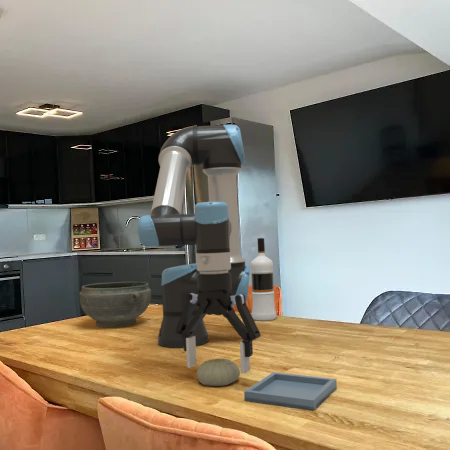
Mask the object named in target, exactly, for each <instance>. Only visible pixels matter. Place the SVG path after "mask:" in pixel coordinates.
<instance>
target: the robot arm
mask: <svg viewBox="0 0 450 450" xmlns="http://www.w3.org/2000/svg"><path fill="white" fill-rule="evenodd" d="M158 164H159V167H160V168H159V171H158V172H159V173H158V177H157V182H156V186H155V191H154V197H153V200H152V201H153V202H152V204H151V211H150V214H147V215H142V216H140V217H139V219H138V223H137V236H138V241H139V243H140V244H141V245H142V246H144V247H156V248H158V247H171V246H174V247H175V246H196V248H195V252H196V254H195V255H196V257H195V258H196V263H188V264H182V265H177V266H172V267H169V268H168V267H167V268H165V269H164V270H163V271H161V272H162V273H161V284H160V286H161V297H162V298H161V299H162V300H161V301H162V322H161V325H160V328H159V333H158V335H157V343H158V345H159V346H161V347H167V348H183V350H184V352H186V368H192V367H194V366H195V367H196V365H197V348H196V347H197V346H200V345H203V344H206V343H208V342H209V331H208V330H207V326H206V324H205V321H204V318H205V317H206V316H207V315H208V316H211V315H214V316H223V318H225V319H227V321H228V323H229V324H230V325H231V326H232V328H233V329H234V330H235V332H236V333H237V334H238V336H239V337H240V339H241V340H242V341H240V342H239V352H240V354H239V355H240V358H239V359H240V374H241V375H242V374H243V375H244V374H247V373H248V372H250V371H251V365H250V364H251V363H250V358H251V357H252V356H253V353H254V351H253V349H254V348H253V341H254V340H256V339H259V338H261V333H260V330H259V328H258V326H257V324H256V322H255V320H254V319H253V317H252V315H251V314H252V312H250V309H249V307H248V306H247V301H248V296H249V294H248V293H249V285H250V284H249V282H250V274H251V266H249V265H246V259H244V257H242V256H241V253H240V252H241V251H240V231H239V230H240V229H239V228H240V227H239V209H238V188H237V186H238V183H237V176H238V174H239V172H240V171H242V165H244V164H246V157H245V149H244V143H243V139H242V133H241V128H240V127H239V126H238V125H236V124H225V123H224V124H215V125H202V126H201V125H200V126H198V125H197V126H188V127H183V128H181V129H180V130H177V131H176V132H175V133H173V134H172V135H171V136H170V137H168V139H166V141H165V142H164V143H163V145H162V147H161V148H160V151H159V154H158ZM192 166H196V167H197V166H201V167H202V172H203V173H204V174H205V175H206V176H207V184H208V185H207V187H208V201H203V202H198V203H196V204H195V206H194V213H182V211H183V210H182V208H183V203H184V197H185V189H186V188H185V187H186V180H187V174H188V173H187V172H188V171H189V170H190V168H191V167H192ZM234 306H235V307H236V310H237V312H238V313H239V316H238V315H237V313H236V311H235V308H233V307H234Z"/></svg>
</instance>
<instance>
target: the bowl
mask: <svg viewBox="0 0 450 450" xmlns="http://www.w3.org/2000/svg"><path fill="white" fill-rule="evenodd" d="M149 284H150V283H148V282H145V281H144V282H143V281H118V282H115V281H114V282H99V283H91V284H90V283H89V284H85V285H82V286H81V291H79V305H80V308H81V309H82V310H83V312H84V313H85V315H87V316H88V317H89V318H91V319H93V320H95V321H96V322H95V324H96V327H98V328H105V329H107V328H108V329H111V328H124V327H129V326H133V325H136V323H137V318H138V317H140V316H141V315H143V313H145V312H146V310H147V308H148V307H149V306H150V303H151V299H152V289H151V288H150V287H149Z"/></svg>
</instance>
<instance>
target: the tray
mask: <svg viewBox="0 0 450 450" xmlns="http://www.w3.org/2000/svg"><path fill="white" fill-rule="evenodd" d="M337 383H338V382H337V378H331V377H321V376H312V375H301V374H294V373H293V374H292V373H283V372H272V373H270V374H268V375H267V376H265V377H264V378H262V379H261V380H259V381H258V382H256V383H255V384H253V385H252V386H250V387H248V388H247V389H245V390H244V391H243V395H244V398H243V399H244V401H246V402H251V403H259V404H267V405H272V406H278V407H279V406H280V407H287V408H293V409H295V408H296V409H299V410H301V409H302V410H308V411H315V410H316V409H317V408H318V407H319V406H320V405H321V404H322V403H323V402H324V401H326V400H327V398H328V397H330V396H331V394H332V393H333V392H334V391H336V390H337V388H338V385H337Z"/></svg>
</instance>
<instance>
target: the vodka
mask: <svg viewBox="0 0 450 450" xmlns="http://www.w3.org/2000/svg"><path fill="white" fill-rule="evenodd" d="M265 244H266V243H265V238H264V237H259V238H257V256H256V257H255V258H253V260H251V262H250V274H251V295H252V297H251V298H252V309H251V315H252V317H253V319H254V321H257V322H268V321H269V320H270V321H274V320H275V319H277V317H278V316H277V313H278V312H277V309H276V304H275V290H274V289H275V288H274V285H275V284H274V262H273V260H272V259H271V258H269V257H267V256H266V246H265Z"/></svg>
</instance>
